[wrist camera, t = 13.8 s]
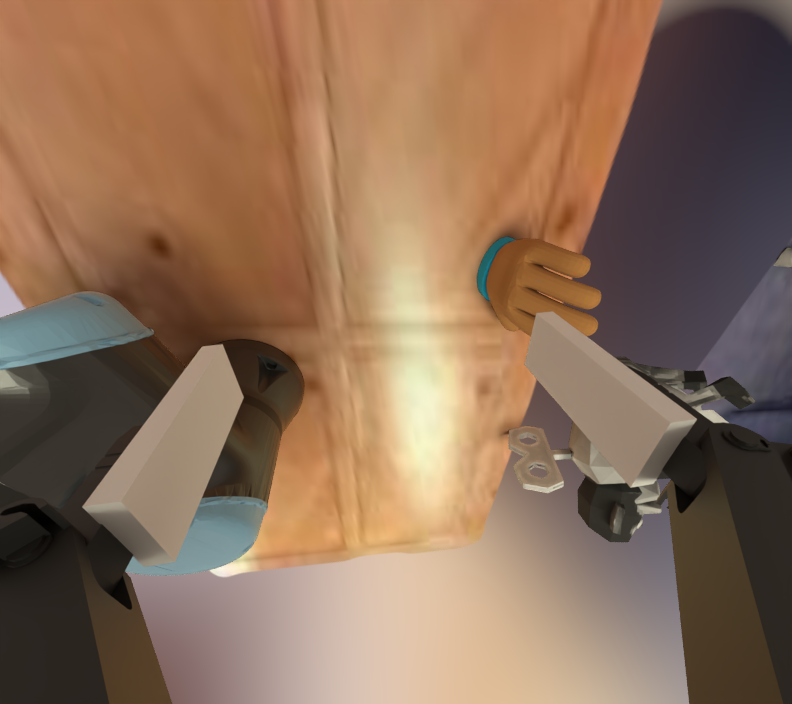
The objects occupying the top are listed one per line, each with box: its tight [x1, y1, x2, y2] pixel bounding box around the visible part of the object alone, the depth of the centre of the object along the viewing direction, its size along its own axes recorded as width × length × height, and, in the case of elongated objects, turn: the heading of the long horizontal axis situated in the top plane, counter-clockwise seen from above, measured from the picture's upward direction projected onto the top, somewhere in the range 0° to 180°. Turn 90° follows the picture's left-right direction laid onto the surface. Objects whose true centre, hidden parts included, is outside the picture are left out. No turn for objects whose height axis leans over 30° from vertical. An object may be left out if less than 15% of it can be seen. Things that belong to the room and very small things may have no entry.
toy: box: [509, 357, 755, 542], centre depth 50 cm, size 21×31×30 cm
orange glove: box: [477, 237, 601, 336], centre depth 35 cm, size 12×7×15 cm, turn 167°
